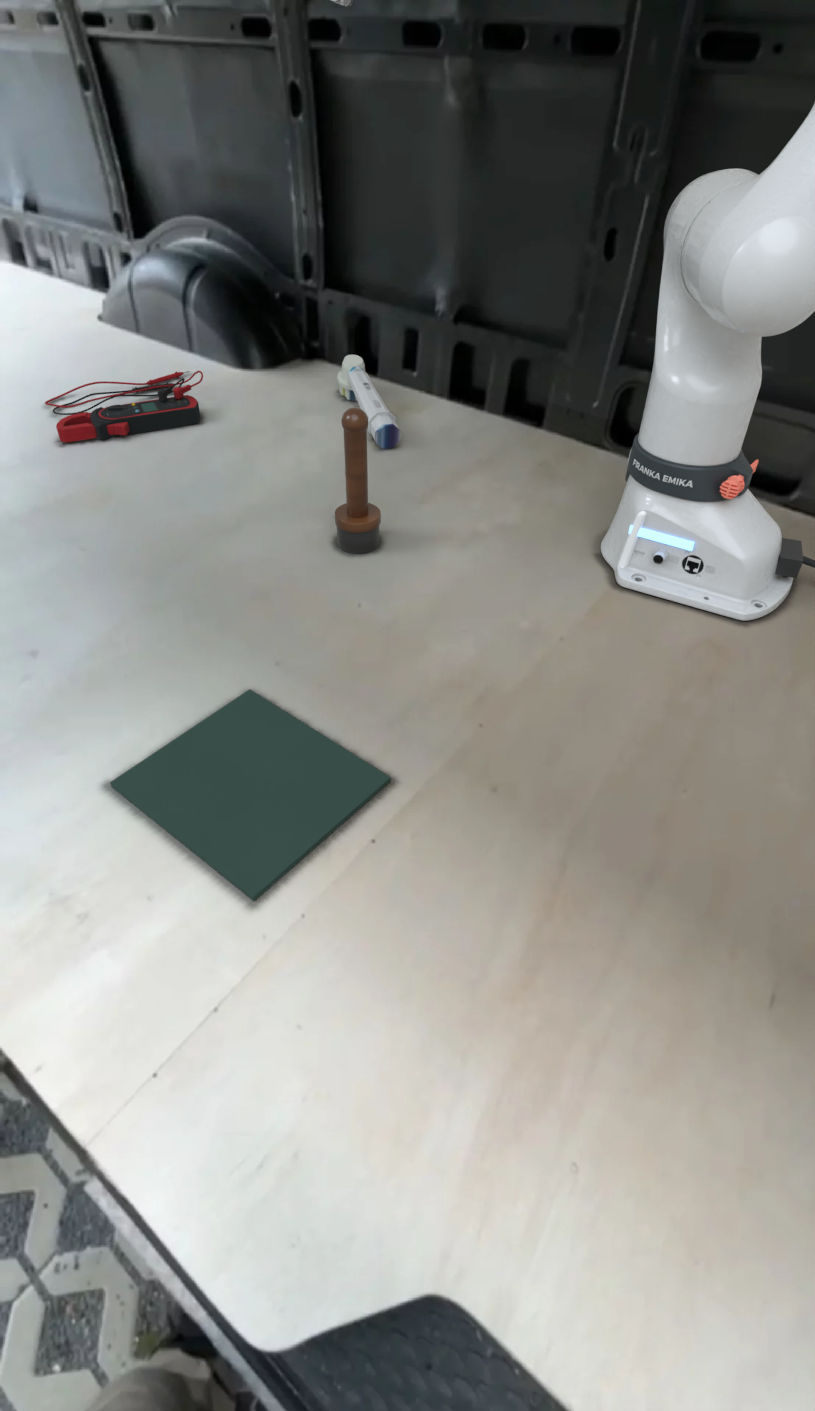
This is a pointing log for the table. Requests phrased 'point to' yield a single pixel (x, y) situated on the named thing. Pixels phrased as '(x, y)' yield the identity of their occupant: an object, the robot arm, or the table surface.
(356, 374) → the toothbrush head
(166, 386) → the digital clamp meter
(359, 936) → the table surface
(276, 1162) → the table surface
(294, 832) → the mat
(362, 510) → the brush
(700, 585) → the robot arm
